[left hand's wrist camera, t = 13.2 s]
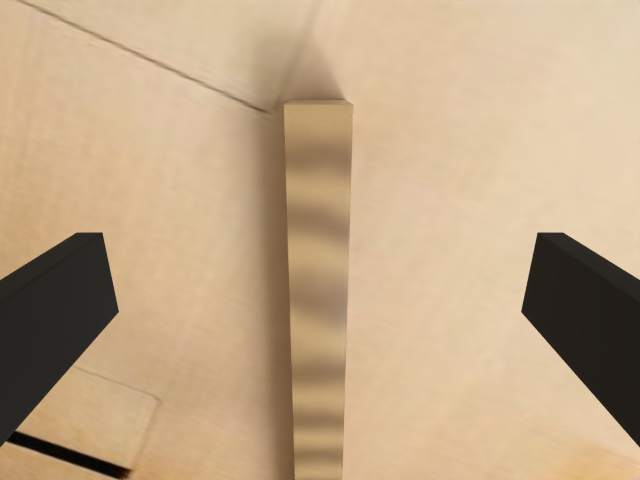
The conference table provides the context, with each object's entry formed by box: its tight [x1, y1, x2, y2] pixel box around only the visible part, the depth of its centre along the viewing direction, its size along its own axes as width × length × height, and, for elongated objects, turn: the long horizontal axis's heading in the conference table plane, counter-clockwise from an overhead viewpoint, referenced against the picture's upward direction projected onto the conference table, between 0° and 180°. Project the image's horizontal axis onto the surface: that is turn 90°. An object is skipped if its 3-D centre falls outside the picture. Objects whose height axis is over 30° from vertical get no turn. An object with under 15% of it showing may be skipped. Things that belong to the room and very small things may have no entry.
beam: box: [284, 100, 353, 480], centre depth 43 cm, size 56×5×8 cm, turn 0°
